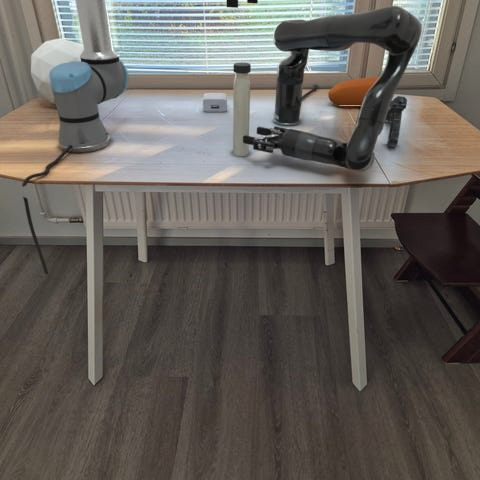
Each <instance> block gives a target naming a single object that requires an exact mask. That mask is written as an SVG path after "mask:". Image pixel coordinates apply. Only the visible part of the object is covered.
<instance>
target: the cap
mask: <svg viewBox="0 0 480 480" xmlns="http://www.w3.org/2000/svg"><path fill="white" fill-rule="evenodd" d="M251 65H252V63H249V62H243V61H242V62H241V61H240V62H234V63H233V73H235V74H236V73H240V74H245V73H248V74H250V73H251V71H252V66H251Z"/></svg>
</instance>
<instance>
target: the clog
mask: <svg viewBox="0 0 480 480" xmlns="http://www.w3.org/2000/svg"><path fill="white" fill-rule="evenodd" d="M379 77H380V76H368V77H359V78H355V79H349V80H343V81H340V82H338V83H336V85H334V86H333V87H332V88H330V90H328V91H327V95H328V96H327V97H328V100H329V101H330V102H331V103H332V105H335V104H336V105H335V106H337V107H340V108H343V109H344V108H345V109H348V108H360V107H361V106H339V105H361V104H362V101H363V99H364V97H365V95H366V93H367V92H368V91H369V89H370V88H371V87H372V86H373V84H374V83H375V82H376V81H377V80H378V78H379Z"/></svg>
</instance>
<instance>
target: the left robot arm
mask: <svg viewBox="0 0 480 480" xmlns="http://www.w3.org/2000/svg"><path fill="white" fill-rule="evenodd" d="M74 2H75V7H76V12H77V17H78V23H79V28H80V35H81V41H82V47H83V48H84V51H83V52H82V53H81V55H80V58H81V62H80V61H74V62H69V63H63V64H60V65H57V66H55V67H54V68H53V69H52V70H51V71H50V74H49V76H50V81H51V88H52V92H53V95H54V99H55V103H56V104H55V107H56V111H57V114H58V118H59V132H58V133H59V134H58V145H59V148H60V149H61V150H62V152H61V153H60V154H59V155H58V156H57V158H56V159H55V160H53V161H51V162H50V163H48V164H47V165H46V166H45V170H44V171H41V172H39V173H32V174H30V175H28V176H27V177H26V178H24V180H23V182H22V185H21V187H26V186H27V185H28V182H29V181H30V180H32V179H34V178H39V177H44V176H45V175H47V174H48V173H49V171H50V168H51V167H53V166H55V165H56V164H58V163H59V162H60V161H61V159H62V158H63V157H64V156H66V154H67V153H74V154H76V153H77V154H81V153H82V154H83V153H90V152H96V151H99V150H102V149H104V148H106V147H107V146H108V145H109V144H110V143H111V140H110V139H111V138H110V135H109V133H108V130H107V129H106V127H105V125H104V123H103V121H102V120H101V116H100V112H99V107H98V105H100V104H102V103H105V102H107V101H110V100H113V99H117V98H118V97H119V96H120V95H122V94H124V93H125V92H126V90H127V89H128V87H129V84H130V74H129V71H128V68H127V66H125V63H124V62H123V60H121V59H120V54H119V52H117V51H116V50H115V49H114V47H113V46H114V45H113V39H112V33H111V32H112V31H111V25H110V18H109V10H108V4H107V0H74ZM246 3H247V4H258V3H259V0H246ZM226 8H234V9H237V8H239V0H226ZM22 198H23V202H24V208H25V214H26V218H27V222H28V226H29V230H30V234H31V237H32V240H33V243H34V245H35V248H36V251H37V254H38V256H39V259H40V263H41V265H42V268H43V272H44V274H45V275H48V274H49V270H48V267H47V264H46V261H45V258H44V255H43V252H42V250H41V246H40V244H39V241H38V237H37V235H36V231H35V228H34V225H33V220H32V216H31V210H30V203H29V200H28V197H26V196H22Z"/></svg>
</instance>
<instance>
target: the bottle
mask: <svg viewBox="0 0 480 480" xmlns="http://www.w3.org/2000/svg"><path fill="white" fill-rule="evenodd" d="M250 81H251V80H250V76H249V73H245V74H240V73H235V76H234V81H233V86H232V90H233V91H232V154H233V156H236V157H247V156H248V155H249V154H250V153H249V149H250V144H245V143H243V136H244V135H247V136H250V118H251V117H250V112H251V83H250Z"/></svg>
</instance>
